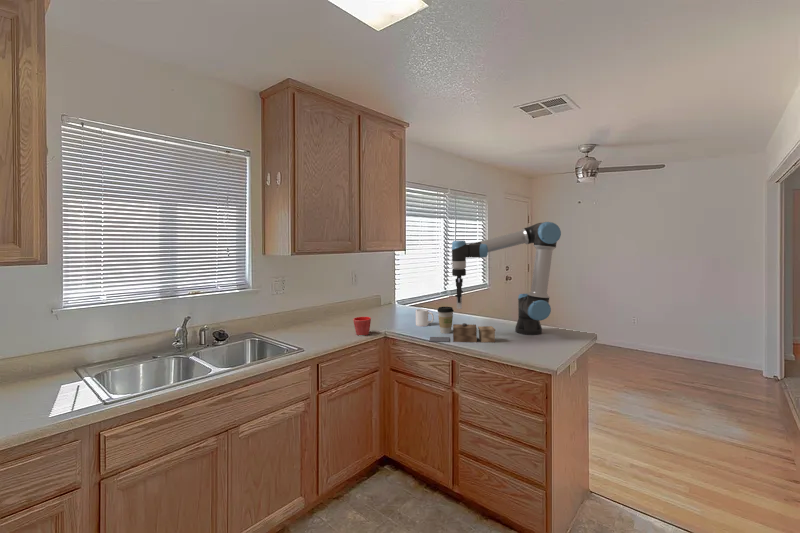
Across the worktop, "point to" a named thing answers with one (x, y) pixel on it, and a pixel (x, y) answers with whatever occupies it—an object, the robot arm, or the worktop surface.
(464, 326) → the brown wooden box
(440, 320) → the coffee cup
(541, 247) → the robot arm
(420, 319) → the cup
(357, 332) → the flower pot
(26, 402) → the worktop surface
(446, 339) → the mat
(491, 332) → the oak box
